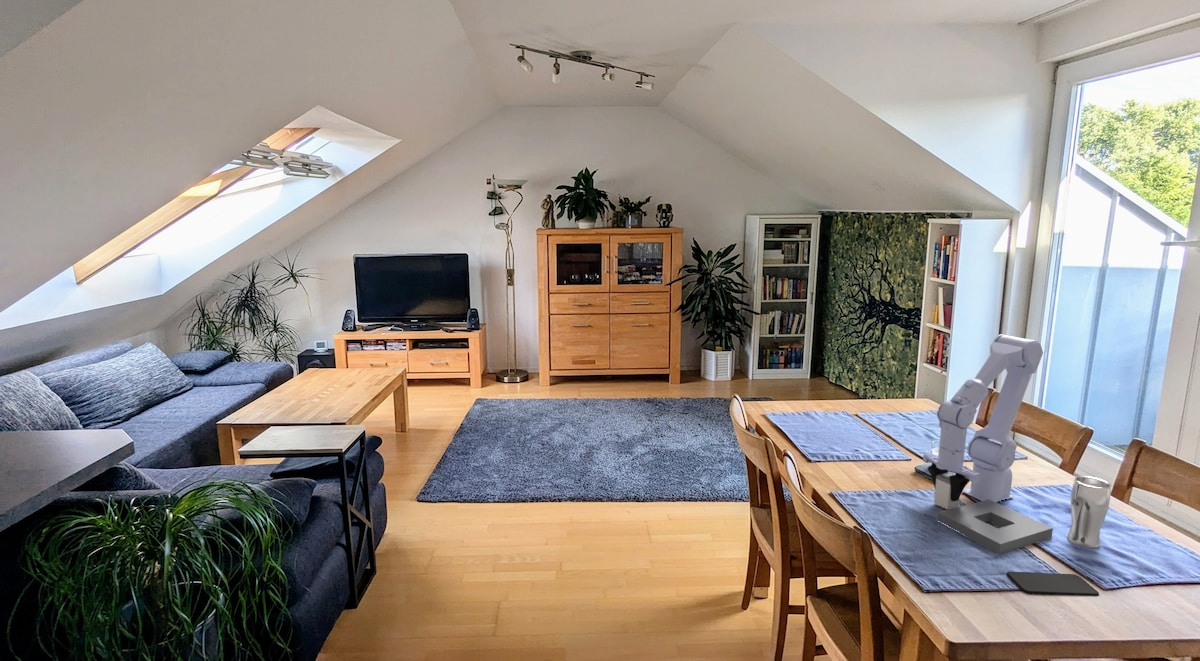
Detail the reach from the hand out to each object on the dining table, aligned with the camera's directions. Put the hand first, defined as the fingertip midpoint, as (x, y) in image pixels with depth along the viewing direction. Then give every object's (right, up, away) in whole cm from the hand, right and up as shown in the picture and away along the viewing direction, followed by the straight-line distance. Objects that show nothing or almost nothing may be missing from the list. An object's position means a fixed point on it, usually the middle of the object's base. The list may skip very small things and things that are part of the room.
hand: (946, 496), depth 161 cm
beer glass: (+22, -6, -17) cm, 29 cm away
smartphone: (+3, -10, -33) cm, 35 cm away
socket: (+5, -5, -11) cm, 13 cm away
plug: (0, -2, 0) cm, 2 cm away
